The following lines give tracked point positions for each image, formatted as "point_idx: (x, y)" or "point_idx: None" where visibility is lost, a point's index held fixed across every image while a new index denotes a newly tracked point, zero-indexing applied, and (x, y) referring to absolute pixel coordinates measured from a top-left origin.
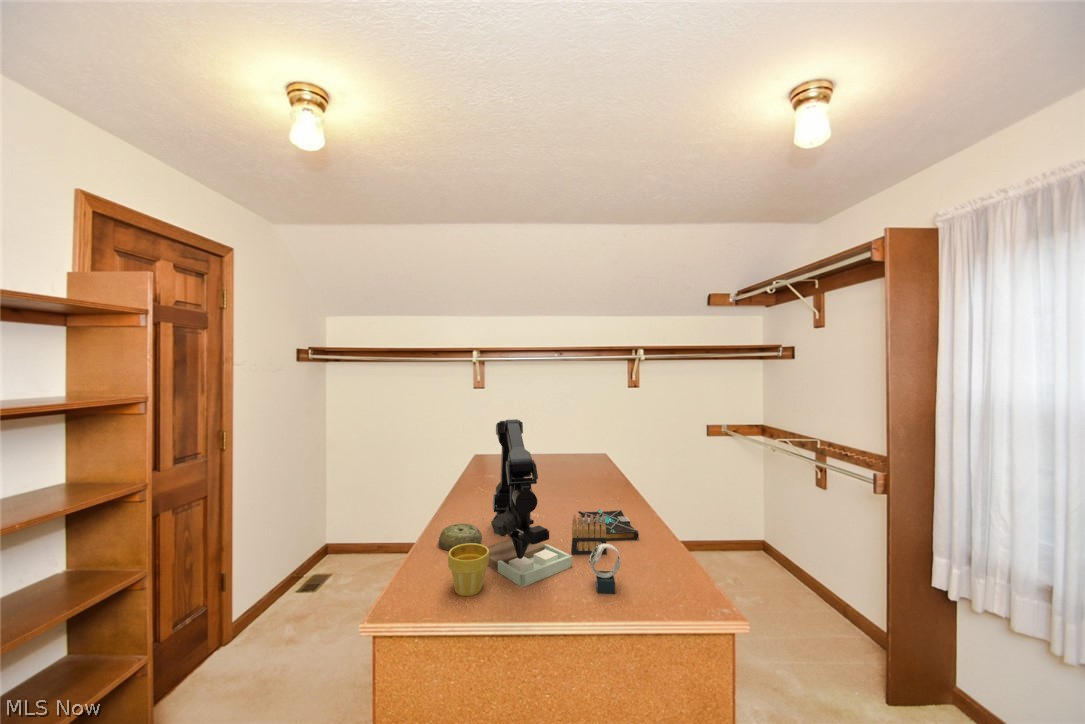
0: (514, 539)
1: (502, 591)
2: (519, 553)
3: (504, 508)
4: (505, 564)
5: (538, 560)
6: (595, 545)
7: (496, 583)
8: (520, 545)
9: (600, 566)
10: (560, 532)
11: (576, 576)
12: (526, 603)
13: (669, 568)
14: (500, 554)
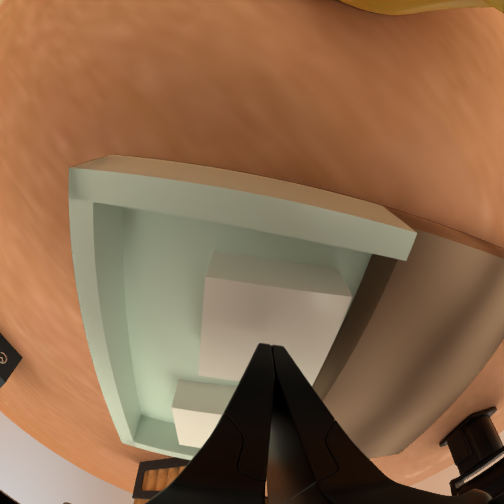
0: (324, 495)
1: (172, 37)
2: (245, 375)
3: (486, 464)
4: (328, 226)
5: (229, 398)
6: (155, 481)
7: (282, 77)
8: (198, 451)
9: (93, 426)
10: None
11: (69, 369)
12: (19, 79)
13: (39, 434)
14: (441, 323)
